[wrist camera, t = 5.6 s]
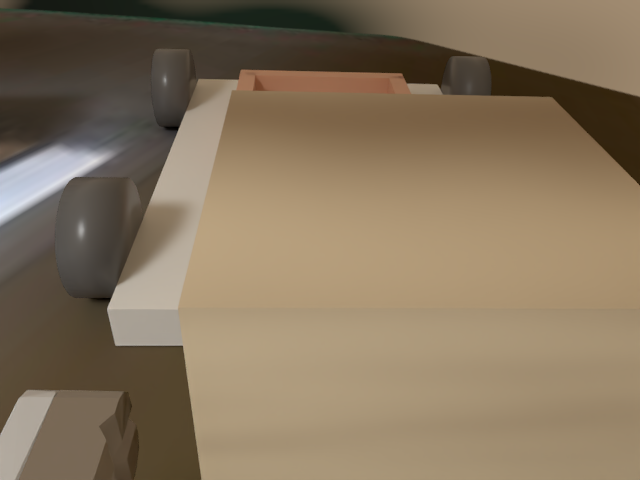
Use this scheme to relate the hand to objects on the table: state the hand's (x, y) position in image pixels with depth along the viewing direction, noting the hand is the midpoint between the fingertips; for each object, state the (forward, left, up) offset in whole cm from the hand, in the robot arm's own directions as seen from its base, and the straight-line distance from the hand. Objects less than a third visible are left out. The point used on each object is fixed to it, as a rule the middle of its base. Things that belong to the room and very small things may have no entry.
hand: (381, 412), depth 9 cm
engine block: (0, 0, -6) cm, 6 cm away
